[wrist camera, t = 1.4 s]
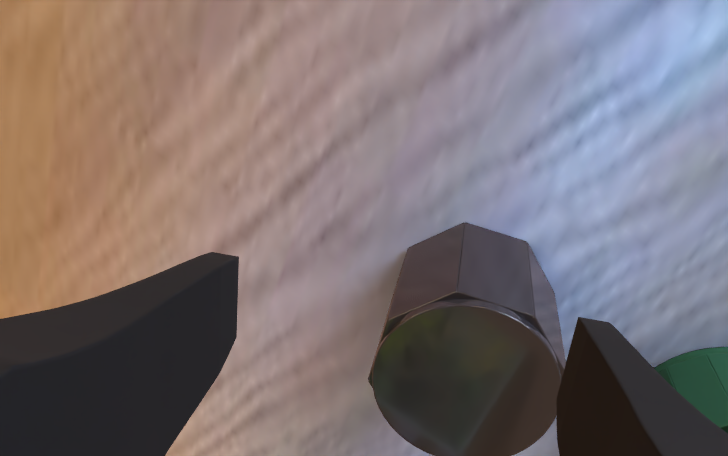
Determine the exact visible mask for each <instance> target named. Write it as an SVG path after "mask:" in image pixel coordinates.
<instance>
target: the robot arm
mask: <svg viewBox="0 0 728 456" xmlns="http://www.w3.org/2000/svg"><path fill="white" fill-rule="evenodd" d="M238 264H239V257H237V256H231V255H225V254H220V253H214V252H211V253H207V254H204V255H201V256H199V257H196V258H194V259H191V260H189V261H186V262H184V263H182V264H179V265H177V266H175V267H172V268H170V269H167V270H165V271H163V272H160V273H158V274H156V275H153V276H151V277H148V278H146V279H144V280H141V281H138V282H136V283H133V284H130V285H128V286H125V287H122V288H120V289H117V290H114V291H112V292H109V293H106V294H103V295H100V296H97V297H94V298H91V299H88V300H84V301H81V302H77V303H73V304H70V305H66V306H62V307H58V308H54V309H50V310H45V311H40V312H35V313H30V314H25V315H19V316H14V317H9V318H3V319H0V456H165V454H166V453H167V451H168V450H169V448H170V447H171V445H172V444H173V442H174V441H175V439H176V438H177V436H178V435H179V433H180V432H181V430H182V429H183V427H184V426H185V424H186V423H187V421H188V420H189V418H190V417H191V415H192V414H193V412H194V411H195V410H196V408H197V407H198V405H199V404H200V402H201V401H202V399H203V398H204V396H205V395H206V393H207V392H208V390H209V389H210V387H211V386H212V384H213V383H214V381H215V379H216V378H217V376H218V375H219V373H220V371H221V369H222V367H223V365H224V363H225V361H226V359H227V357H228V355H229V352H230V350H231V348H232V346H233V344H234V341H235V339H236V331H237V297H238ZM556 407H557V441H558V448H559V454H560V456H728V433H726V432H725V431H724V430H722V429H721V428H720V427H718V426H717V425H716V424H714V423H713V422H712V421H711V420H709V419H708V418H707V417H706V416H705V415H703V414H702V413H701V412H700V411H699V410H697V409H696V408H695V407H694V406H693V405H692V404H691V403H690V402H688V401H687V400H686V399H685V398H684V397H683V396H682V395H681V394H680V393H678V392H677V391H676V390H675V389H674V388H673V387H672V386H671V385H670V384H669V383H668V382H667V381H666V380H665V379H664V378H663V377H662V376H661V375H660V374H659V373H658V372H657V371H656V370H655V369H654V368H653V367H652V366H651V365H650V364H649V363H648V362H647V361H646V360H645V359H644V358H643V357H642V356H641V355H640V354H639V352H638V351H637V350H636V349H635V348H634V347H633V346H632V345H631V344H630V343H629V342H628V341H627V340H626V339H625V338H624V337H623V335H622V334H621V333H620V332H619V331H618V330H617V329H616V328H615V327H614V326H613V325H611V324H610V323H609V322H603V321H597V320H592V319H586V318H581V317H578V321H577V324H576V328H575V332H574V335H573V339H572V343H571V347H570V350H569V354H568V358H567V361H566V365H565V369H564V373H563V376H562V380H561V384H560V387H559V391H558V395H557V399H556Z"/></svg>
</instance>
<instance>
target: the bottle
mask: <svg viewBox="0 0 728 456" xmlns="http://www.w3.org/2000/svg"><path fill="white" fill-rule="evenodd" d="M654 369H655V370H656V371H657V372H658V373H659V374H660V375H661V376H662V377H663V378H664V379H665V380H666V381H667V382H668V383H669V384H670V385H671V386H672V387H673V388H674V389H675V390H676V391H677V392H678V393H680V394H681V395H682V396H683V397H684V398H685V399H686V400H687V401H688V402H690V403H691V404H692V405H693V406H694V407H695V408H696V409H697V410H699V411H700V412H701V413H702V414H703V415H705V416H706V417H707V418H708V419H709V420H711V421H712V422H713V423H714V424H716V425H717V426H718V427H720V428H721V429H722V430H724V431H725V432H726V433H728V347H718V348H707V349H701V350H696V351H692V352H689V353H685V354H682V355H679V356H677V357H674V358H672V359H670V360H668V361H666V362H664V363H662V364H660V365H659V366H657V367H656V368H654Z"/></svg>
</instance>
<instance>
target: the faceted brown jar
mask: <svg viewBox="0 0 728 456" xmlns="http://www.w3.org/2000/svg"><path fill="white" fill-rule="evenodd" d="M565 365H566V359H565V353H564V347H563V341H562V335H561V329H560V323H559V317H558V311H557V305H556V299H555V293H554V291H553V289H552V288H551V286H550V284H549V282H548V280H547V278H546V276H545V274H544V272H543V270H542V269H541V267H540V265H539V263H538V261H537V259H536V257H535V255H534V253H533V252H532V250H531V248H530V246H529V244H528V243H527V242H526V241H523V240H520V239H517V238H514V237H510V236H507V235H504V234H501V233H498V232H494V231H491V230H488V229H485V228H482V227H478V226H475V225H472V224H469V223H462V224H459V225H457V226H455V227H453V228H451V229H448V230H446V231H444V232H442V233H440V234H437V235H435V236H433V237H431V238H429V239H426V240H424V241H422V242H420V243H418V244H415V245H413V246H411V247H409V249H407V252H406V255H405V258H404V262H403V265H402V268H401V271H400V274H399V277H398V280H397V283H396V286H395V290H394V293H393V296H392V299H391V302H390V306H389V309H388V313H387V316H386V319H385V323H384V326H383V330H382V333H381V336H380V340H379V343H378V347H377V350H376V353H375V357H374V360H373V364H372V367H371V370H370V374H369V377H368V381H369V383H370V385H371V386H372V388H373V391H374V396H375V399H376V402H377V404H378V407H379V409H380V411H381V412H382V414H383V416H384V418H385V419H386V420H387V422H388V423H389V424H390V426H391V427H392V428H393V429H394V430H395V431H396V432H397V433H398V434H399V435H400V436H401V437H403V438H404V439H405V440H406V441H408V442H409V443H411V444H412V445H414V446H415V447H417V448H419V449H421V450H423V451H425V452H427V453H429V454H432V455H434V456H512V455H514V454H517V453H519V452H521V451H523V450H525V449H526V448H528V447H529V446H531V445H532V444H534V443H535V442H536V441H537V440H538V439H540V438H541V437H542V436H543V435H544V434H545V432H546V431H547V430H548V429H549V427H550V426H551V424H552V423H553V421H554V419H555V418H556V415H557V407H556V399H557V395H558V391H559V387H560V384H561V380H562V376H563V373H564V369H565Z"/></svg>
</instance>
